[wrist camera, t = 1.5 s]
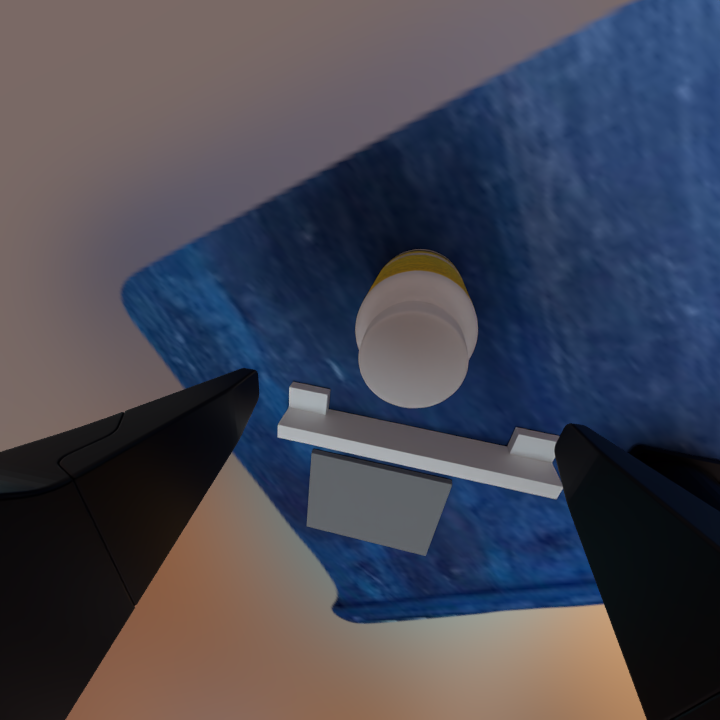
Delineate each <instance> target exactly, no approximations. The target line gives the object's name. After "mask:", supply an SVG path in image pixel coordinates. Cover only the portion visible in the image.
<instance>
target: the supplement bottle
mask: <svg viewBox="0 0 720 720" xmlns="http://www.w3.org/2000/svg"><path fill="white" fill-rule="evenodd" d="M355 334H356V341H357V345H358V348H359V359H358V360H359V367H360V372H361V374H362V377H363V379H364V381H365V383H366V384H367V386H368V387H369V388H370V389H371V390H372V391H373V392H374V393H375V394H376V395H377V396H378V397H380V398H381V399H383V400H384V401H386V402H388V403H391V404H393V405H396V406H400V407H406V408H423V407H429V406H432V405H435V404H438V403H440V402H442V401H444V400H445V399H447V398H448V397H450V396H451V395H452V394H453V393H454V392H455V391H456V390H457V389H458V388H459V387H460V385H461V384H462V382H463V380H464V378H465V376H466V373H467V369H468V360H469V359H470V357H471V355H472V353H473V351H474V349H475V345H476V342H477V336H478V322H477V316H476V313H475V309H474V306H473V304H472V301H471V299H470V297H469V294H468V292H467V289H466V287H465V285H464V282H463V280H462V278H461V275H460V273H459V272H458V270H457V268H456V267H455V266H454V264H453V263H452V262H451V261H450V260H449V259H447V258H446V257H445V256H443V255H441V254H440V253H437V252H434V251H431V250H426V249H416V250H410V251H406V252H404V253H401V254H399V255H397V256H396V257H394V258H393V259H391V260H390V261H389V262H388V263H387V264H386V265H385V266H384V267H383V269H382V270H381V271H380V273H379V275H378V276H377V278H376V280H375V281H374V283H373V285H372V287H371V288H370V290H369V292H368V293H367V295H366V296H365V298H364V300H363V302H362V305H361V307H360V309H359V312H358V315H357V319H356V327H355Z"/></svg>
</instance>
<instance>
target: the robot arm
mask: <svg viewBox="0 0 720 720" xmlns="http://www.w3.org/2000/svg"><path fill="white" fill-rule="evenodd" d="M258 398H259V382H258V373H257V371H256V370H253V369H247V368H242V369H239V370H236V371H234V372H231V373H228V374H225V375H223V376H220V377H217V378H214V379H212V380H209V381H206V382H203V383H201V384H198V385H195V386H192V387H190V388H187V389H184V390H182V391H179V392H176V393H173V394H171V395H168V396H165V397H162V398H160V399H157V400H154V401H152V402H149V403H146V404H143V405H140V406H138V407H135V408H132V409H129V410H127V411H125V413H124V412H121V413H118V414H116V415H113V416H110V417H107V418H105V419H102V420H99V421H96V422H93V423H90V424H87V425H84V426H82V427H78V428H75V429H72V430H69V431H66V432H63V433H60V434H57V435H53V436H50V437H47V438H44V439H41V440H37V441H34V442H31V443H28V444H24V445H21V446H18V447H15V448H12V449H9V450H5V451H2V452H0V720H65V719H66V718H67V716H68V714H69V713H70V711H71V710H72V708H73V706H74V705H75V703H76V702H77V700H78V698H79V697H80V695H81V693H82V692H83V690H84V689H85V687H86V686H87V684H88V682H89V681H90V679H91V678H92V676H93V674H94V672H95V671H96V670H97V668H98V666H99V665H100V663H101V661H102V660H103V658H104V657H105V655H106V653H107V652H108V650H109V649H110V647H111V645H112V644H113V642H114V640H115V639H116V637H117V636H118V634H119V633H120V631H121V629H122V628H123V626H124V625H125V623H126V621H127V620H128V618H129V617H130V615H131V613H132V612H133V610H134V608H135V605H137V603H138V602H139V600H140V598H141V597H142V595H143V594H144V592H145V590H146V589H147V587H148V585H149V584H150V582H151V581H152V579H153V578H154V576H155V574H156V573H157V571H158V570H159V568H160V566H161V565H162V563H163V561H164V560H165V558H166V557H167V555H168V554H169V552H170V550H171V549H172V547H173V546H174V544H175V542H176V541H177V539H178V537H179V536H180V534H181V533H182V531H183V529H184V528H185V526H186V525H187V523H188V521H189V520H190V518H191V517H192V515H193V513H194V512H195V510H196V509H197V507H198V505H199V504H200V502H201V501H202V499H203V497H204V495H205V494H206V493H207V491H208V489H209V488H210V486H211V485H212V483H213V481H214V480H215V478H216V477H217V475H218V473H219V472H220V470H221V469H222V467H223V465H224V464H225V462H226V460H227V459H228V457H229V456H230V454H231V452H232V451H233V449H234V448H235V446H236V444H237V443H238V441H239V439H240V437H241V435H242V433H243V431H244V428H245V426H246V424H247V422H248V420H249V418H250V416H251V414H252V412H253V409H254V407H255V405H256V403H257V401H258ZM642 452H643V453H642ZM554 453H555V458H556V462H557V466H558V470H559V474H560V478H561V482H562V486H563V490H564V494H565V497H566V501H567V504H568V507H569V510H570V513H571V516H572V518H573V521H574V524H575V527H576V529H577V532H578V535H579V537H580V540H581V543H582V546H583V548H584V551H585V554H586V556H587V559H588V562H589V564H590V567H591V570H592V573H593V575H594V578H595V581H596V583H597V586H598V589H599V592H600V594H601V597H602V600H603V602H604V605H605V608H606V610H607V613H608V616H609V618H610V621H611V624H612V627H613V629H614V632H615V635H616V638H617V640H618V643H619V646H620V648H621V651H622V654H623V656H624V659H625V662H626V665H627V667H628V670H629V673H630V675H631V678H632V681H633V683H634V686H635V689H636V692H637V694H638V697H639V699H640V702H641V705H642V708H643V710H644V713H645V716H646V719H647V720H720V461H717V460H712V459H707V458H702V457H697V456H692V455H687V454H682V453H677V452H672V451H668V450H663V449H658V448H653V447H648V446H641V445H640V446H636V447H634V448H633V449H632V450H631V452H630V453H627V452H625V451H624V450H622V449H621V448H619V447H618V446H616V445H615V444H613V443H611V442H610V441H608V440H607V439H605V438H604V437H602V436H601V435H599V434H597V433H596V432H594V431H593V430H591V429H590V428H588V427H586V426H584V425H579V424H572V423H570V424H567V425H566V426H565V427H564V429H563V431H562V433H561V435H560V437H559V439H558V440H557V442H556V444H555V448H554ZM640 453H641V454H640Z"/></svg>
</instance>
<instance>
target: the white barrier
mask: <svg viewBox="0 0 720 720" xmlns="http://www.w3.org/2000/svg"><path fill="white" fill-rule="evenodd" d="M329 398H330V389H326V388H321V387H317V386H312V385H307V384H302V383H297V382H293V383H292V384H291V386H290V387H289V408H288V410H287V411H286V413H285V414H284V416H283V417H282V419H281V420H280V422H279V423H278V437H279V438H284V439H288V440H293V441H297V442H302V443H306V444H311V445H315V446H320V447H324V448H329V449H333V450H338V451H342V452H347V453H351V454H356V455H360V456H365V457H369V458H373V459H378V460H382V461H387V462H391V463H396V464H400V465H405V466H409V467H414V468H418V469H423V470H427V471H432V472H436V473H441V474H445V475H450V476H454V477H459V478H463V479H468V480H472V481H477V482H481V483H485V484H490V485H494V486H499V487H503V488H508V489H512V490H517V491H521V492H526V493H530V494H535V495H539V496H544V497H548V498H553V499H557V497H558V496H559V494H560V492H561V491H562V489H563V486H562V483H561V481H560V479H559V477H558V475H557V472H556V470H555V468H554V466H553V464H552V462H553V460H554V458H555V453H554V448H555V444H556V442H557V440H558V439H559V436H557V435H552V434H547V433H542V432H537V431H532V430H527V429H522V428H518V427H516V428H515V430H514V432H513V435H512V437H511V439H510V441H509V443H508V446H502V445H497V444H492V443H488V442H483V441H478V440H473V439H469V438H464V437H459V436H454V435H450V434H445V433H440V432H435V431H431V430H426V429H421V428H416V427H412V426H407V425H402V424H397V423H393V422H388V421H383V420H378V419H374V418H369V417H364V416H359V415H355V414H350V413H345V412H340V411H336V410H331V409H329Z"/></svg>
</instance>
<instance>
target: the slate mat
mask: <svg viewBox="0 0 720 720" xmlns="http://www.w3.org/2000/svg"><path fill="white" fill-rule="evenodd" d="M451 486H452V480H450V479H445V478H441V477H436V476H432V475H427V474H423V473H418V472H414V471H410V470H405V469H401V468H396V467H392V466H387V465H383V464H378V463H374V462H369V461H365V460H360V459H356V458H352V457H347V456H343V455H338V454H334V453H329V452H325V451H320V450H316V449H313V451H312V456H311V470H310V485H309V500H308V515H307V526H308V527H312V528H316V529H320V530H324V531H328V532H332V533H336V534H340V535H344V536H348V537H352V538H356V539H360V540H364V541H368V542H372V543H376V544H380V545H384V546H388V547H392V548H396V549H400V550H404V551H408V552H412V553H416V554H420V555H424V556H426V553H427V551H428V548H429V545H430V543H431V540H432V537H433V535H434V532H435V529H436V527H437V524H438V521H439V518H440V516H441V513H442V510H443V508H444V505H445V502H446V500H447V497H448V494H449V492H450V489H451Z"/></svg>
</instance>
